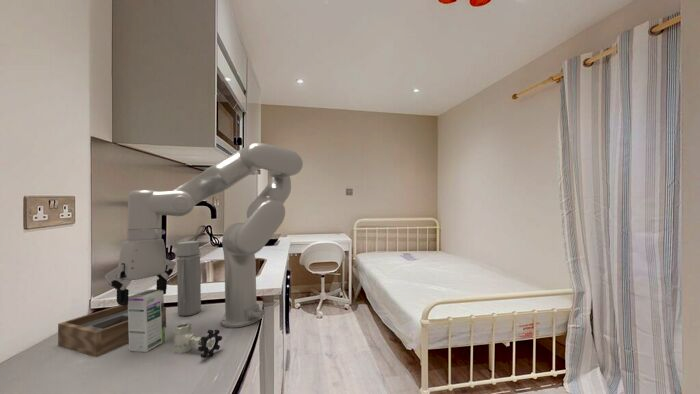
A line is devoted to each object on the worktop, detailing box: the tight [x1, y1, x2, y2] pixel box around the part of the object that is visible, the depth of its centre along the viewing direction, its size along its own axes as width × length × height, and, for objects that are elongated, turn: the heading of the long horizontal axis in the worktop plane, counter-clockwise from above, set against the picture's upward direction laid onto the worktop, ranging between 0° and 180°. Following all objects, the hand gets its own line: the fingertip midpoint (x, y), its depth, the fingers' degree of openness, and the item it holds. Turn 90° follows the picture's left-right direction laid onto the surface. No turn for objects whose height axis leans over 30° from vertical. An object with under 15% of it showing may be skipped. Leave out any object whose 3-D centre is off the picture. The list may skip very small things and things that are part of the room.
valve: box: [173, 322, 223, 359], centre depth 71 cm, size 7×7×12 cm
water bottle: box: [175, 240, 202, 317], centre depth 98 cm, size 9×8×25 cm
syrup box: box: [128, 289, 166, 353], centre depth 76 cm, size 6×6×14 cm
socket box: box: [57, 304, 167, 358], centre depth 82 cm, size 18×18×6 cm
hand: (143, 299), depth 75 cm, fingers open, 9 cm apart
